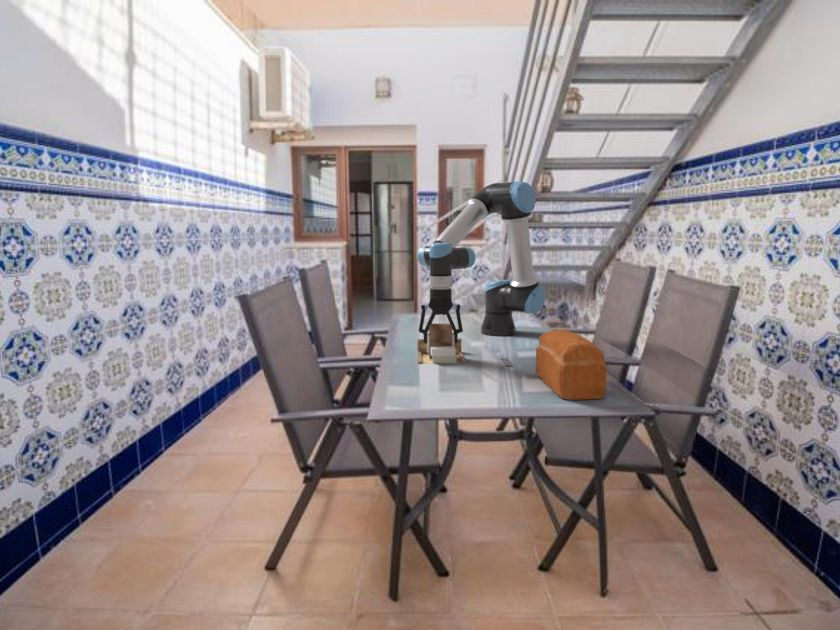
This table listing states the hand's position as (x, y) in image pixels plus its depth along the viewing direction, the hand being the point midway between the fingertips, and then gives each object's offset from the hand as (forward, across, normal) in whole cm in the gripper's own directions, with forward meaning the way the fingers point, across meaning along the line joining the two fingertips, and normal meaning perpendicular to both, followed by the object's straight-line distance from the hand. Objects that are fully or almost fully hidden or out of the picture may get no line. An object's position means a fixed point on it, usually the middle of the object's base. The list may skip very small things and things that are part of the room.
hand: (440, 351), depth 189 cm
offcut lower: (+2, +1, -6) cm, 6 cm away
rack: (+3, 0, 0) cm, 3 cm away
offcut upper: (0, 0, -6) cm, 6 cm away
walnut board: (+2, 0, 0) cm, 2 cm away
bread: (+3, +36, -31) cm, 48 cm away
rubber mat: (+3, +17, -4) cm, 18 cm away
